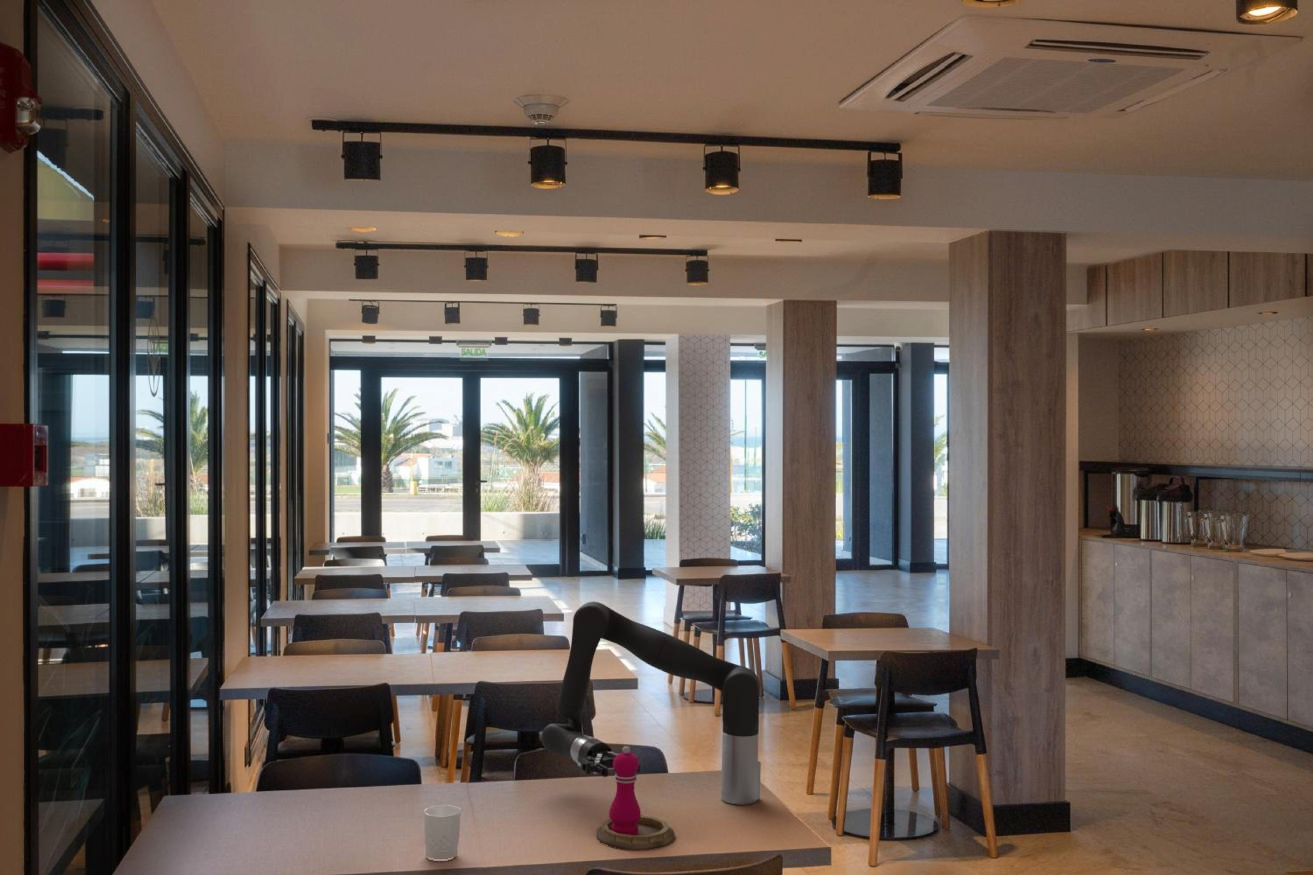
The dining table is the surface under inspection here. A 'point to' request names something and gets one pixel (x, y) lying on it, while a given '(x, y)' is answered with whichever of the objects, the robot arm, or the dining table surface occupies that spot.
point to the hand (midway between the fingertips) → (622, 770)
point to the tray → (640, 832)
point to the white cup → (442, 831)
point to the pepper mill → (625, 794)
